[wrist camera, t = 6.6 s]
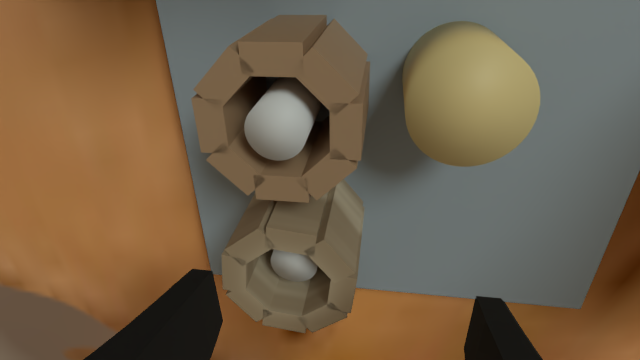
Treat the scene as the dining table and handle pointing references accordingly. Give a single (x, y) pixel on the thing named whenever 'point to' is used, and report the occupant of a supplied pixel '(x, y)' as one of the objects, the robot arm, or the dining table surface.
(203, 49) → the gear board
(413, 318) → the dining table surface
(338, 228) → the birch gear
